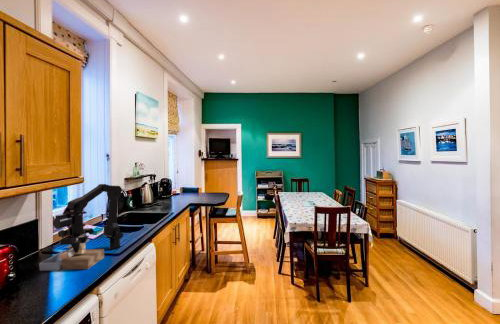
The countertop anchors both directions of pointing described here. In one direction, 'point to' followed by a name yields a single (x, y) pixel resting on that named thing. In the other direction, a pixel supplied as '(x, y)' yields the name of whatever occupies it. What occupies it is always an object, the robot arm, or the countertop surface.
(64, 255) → the tile terracotta
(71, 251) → the scraper
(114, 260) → the countertop surface
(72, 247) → the cleaver
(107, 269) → the countertop surface
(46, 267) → the box
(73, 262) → the brown square tray
